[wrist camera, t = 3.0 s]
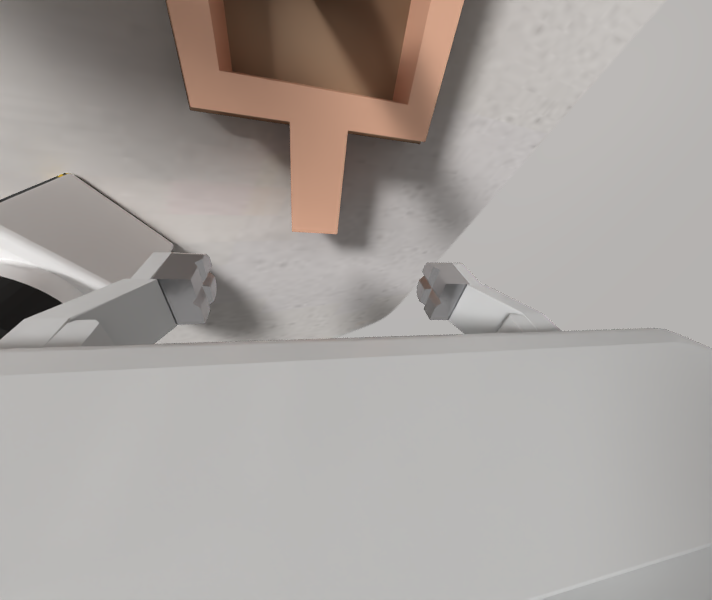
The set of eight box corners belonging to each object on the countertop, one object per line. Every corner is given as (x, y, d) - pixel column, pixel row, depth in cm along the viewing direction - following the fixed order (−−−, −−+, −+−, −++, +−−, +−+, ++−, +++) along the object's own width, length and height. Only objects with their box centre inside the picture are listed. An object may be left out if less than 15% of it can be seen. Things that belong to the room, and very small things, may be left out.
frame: (97, -496, 6) (-11, -799, 4) (501, -264, 9) (567, -375, 7) (227, 208, 18) (217, 227, 16) (388, 220, 20) (398, 237, 18)
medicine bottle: (69, 168, 17) (-194, 275, 8) (176, 244, 21) (87, 367, 12) (20, 232, 19) (-236, 375, 10) (128, 288, 23) (20, 422, 14)
